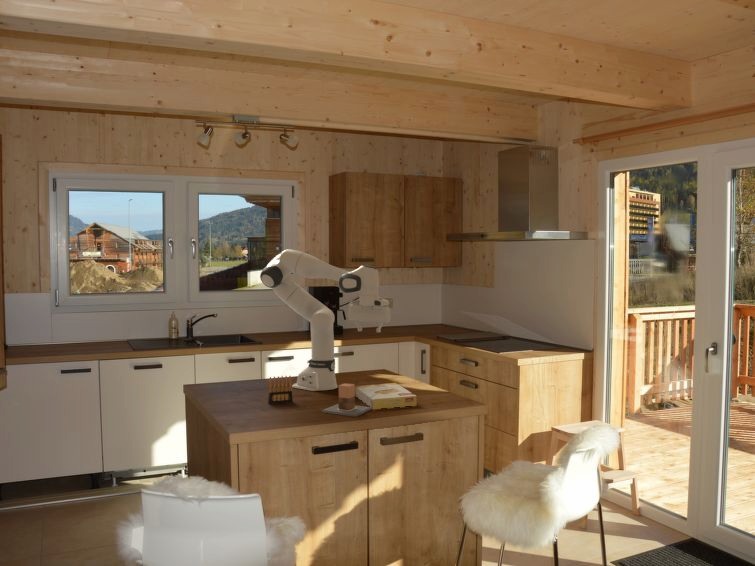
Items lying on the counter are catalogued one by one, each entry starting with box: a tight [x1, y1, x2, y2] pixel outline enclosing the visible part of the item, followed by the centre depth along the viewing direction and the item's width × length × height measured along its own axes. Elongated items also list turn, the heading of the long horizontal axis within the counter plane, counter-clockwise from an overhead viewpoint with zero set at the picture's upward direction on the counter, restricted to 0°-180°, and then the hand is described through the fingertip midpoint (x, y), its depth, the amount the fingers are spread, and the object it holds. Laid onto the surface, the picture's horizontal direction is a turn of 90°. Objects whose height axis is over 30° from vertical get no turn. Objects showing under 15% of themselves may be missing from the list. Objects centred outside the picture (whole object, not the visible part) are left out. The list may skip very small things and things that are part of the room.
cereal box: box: [355, 382, 418, 410], centre depth 306 cm, size 20×6×28 cm
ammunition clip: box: [267, 375, 293, 405], centre depth 302 cm, size 11×2×12 cm, turn 111°
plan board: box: [321, 402, 372, 418], centre depth 287 cm, size 16×14×1 cm
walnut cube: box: [338, 396, 356, 410], centre depth 287 cm, size 5×5×5 cm
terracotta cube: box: [338, 383, 356, 398], centre depth 286 cm, size 5×5×5 cm
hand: (369, 331), depth 307 cm, fingers open, 8 cm apart
